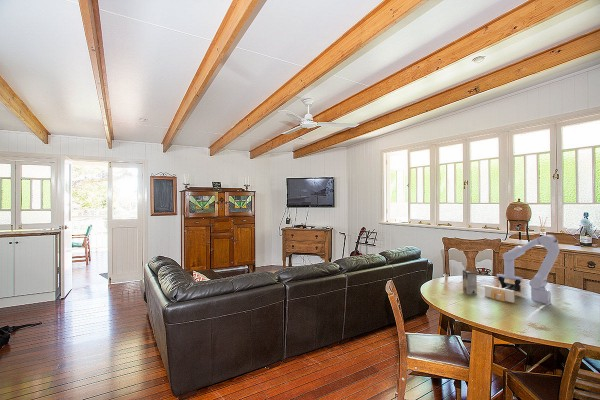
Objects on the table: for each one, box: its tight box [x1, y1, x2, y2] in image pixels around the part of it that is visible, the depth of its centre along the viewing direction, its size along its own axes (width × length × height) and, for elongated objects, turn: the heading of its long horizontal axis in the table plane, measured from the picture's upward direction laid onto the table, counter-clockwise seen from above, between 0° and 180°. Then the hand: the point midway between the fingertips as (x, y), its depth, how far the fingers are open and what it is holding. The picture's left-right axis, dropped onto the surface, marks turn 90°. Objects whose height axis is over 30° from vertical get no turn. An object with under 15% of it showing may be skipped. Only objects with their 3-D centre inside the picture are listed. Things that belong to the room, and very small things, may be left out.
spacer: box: [491, 290, 506, 302], centre depth 187 cm, size 7×2×7 cm, turn 36°
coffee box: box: [462, 269, 478, 295], centre depth 202 cm, size 9×6×16 cm
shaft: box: [500, 281, 522, 293], centre depth 195 cm, size 11×18×4 cm, turn 126°
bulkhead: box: [484, 284, 515, 304], centre depth 188 cm, size 16×2×9 cm, turn 36°
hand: (509, 289), depth 199 cm, fingers open, 7 cm apart
